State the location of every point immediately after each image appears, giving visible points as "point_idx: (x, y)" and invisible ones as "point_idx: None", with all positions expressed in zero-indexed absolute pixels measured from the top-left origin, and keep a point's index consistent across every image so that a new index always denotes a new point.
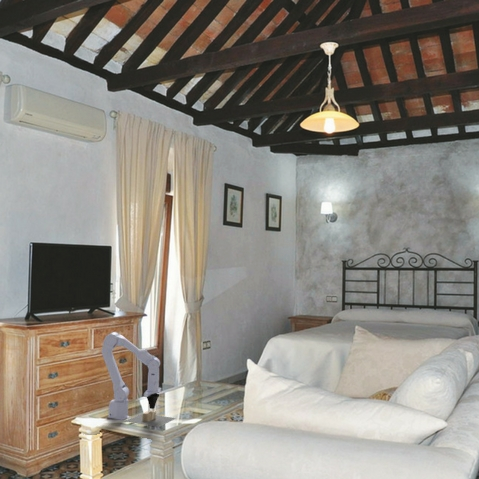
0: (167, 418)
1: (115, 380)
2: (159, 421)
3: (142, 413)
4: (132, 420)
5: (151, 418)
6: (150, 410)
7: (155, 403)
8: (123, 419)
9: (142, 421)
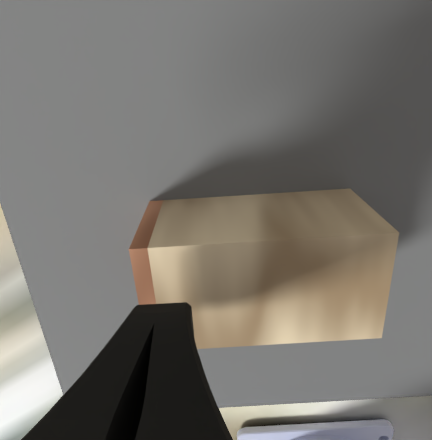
0: (34, 33)
1: None
2: (269, 47)
3: None
4: (382, 354)
5: (271, 202)
6: None
7: (104, 375)
8: (382, 427)
9: None
